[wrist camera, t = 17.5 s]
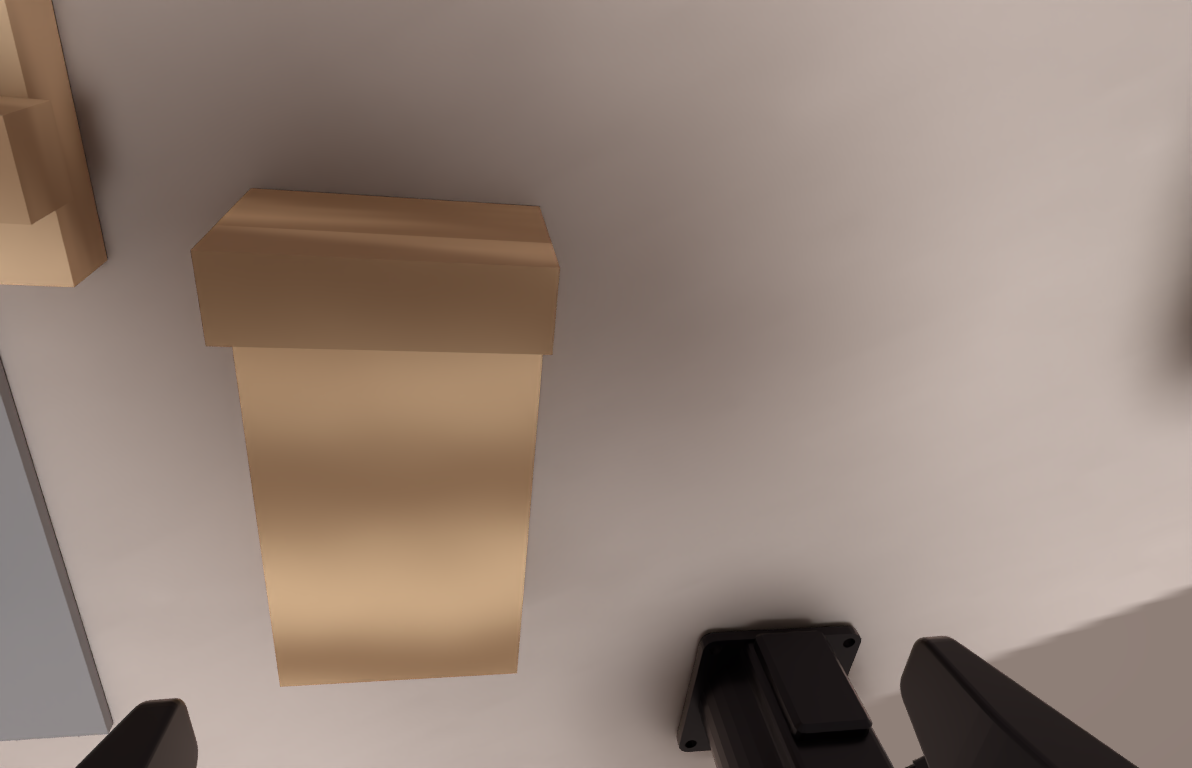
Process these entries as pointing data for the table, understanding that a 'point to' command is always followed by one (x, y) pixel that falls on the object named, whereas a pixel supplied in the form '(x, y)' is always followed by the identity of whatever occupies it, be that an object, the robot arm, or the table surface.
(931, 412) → the table surface
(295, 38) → the table surface
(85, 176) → the lever mount
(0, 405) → the felt pad
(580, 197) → the table surface
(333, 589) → the body
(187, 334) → the table surface
